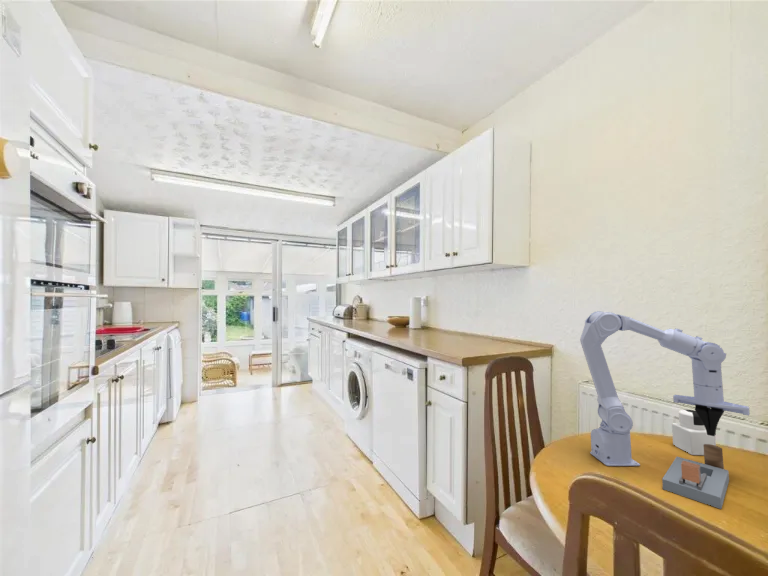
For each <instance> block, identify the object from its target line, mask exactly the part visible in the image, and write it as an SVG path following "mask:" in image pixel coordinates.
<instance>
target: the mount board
mask: <svg viewBox="0 0 768 576" xmlns="http://www.w3.org/2000/svg"><path fill="white" fill-rule="evenodd" d="M682 461H687V462H690V463H694V464H697V465H700V473H701V481H700V483H699V484H698V485H697V487H694V486H691V485H688V484H685V479H682V470H681V463H682ZM661 480H662V490H664V491H666V490H667V492H669V491H670V493H672V492H673V494H675V495H679V496H682V497H685V498H687V499H689V500H694V501H697V502H699V503H702V504H705V505H707V504H708V505H709V506H710V505H711V507H713V508H717V509H720V510H722V508H723V504H724V502H725V501H724V500H725V498H726V494H727V489H728V487H729V482H730V474H729V470H728V469H725V468H724V469H721V468H717V467H714V466H710V465H706V464H705V463H703V462H698V461H694V460H692V459H687V458H684V457H681V456H675V458H674V460H673V461H672V463H671V465H670V466H669V468H668V469H667V471H666V473H665V474H664V476H663V477H662V479H661Z"/></svg>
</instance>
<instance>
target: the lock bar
mask: <svg viewBox="0 0 768 576" xmlns="http://www.w3.org/2000/svg"><path fill="white" fill-rule="evenodd" d="M681 470H682V479H685V484H688V485H691V486H694V487H697V485H698V484H699V483H700V481H701V473H700V465H697V464H694V463H690V462H687V461H682V463H681Z"/></svg>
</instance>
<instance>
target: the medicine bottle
mask: <svg viewBox="0 0 768 576" xmlns="http://www.w3.org/2000/svg"><path fill="white" fill-rule="evenodd" d="M671 433H672V445H673V446H674V445H675V446H674V447H676V448H678V449H680V450H682V451H684V452H685V451H686V453H687V452H688V455H692V456H704V446H703V445H704V444H710V445H715V446H717V442H716V435H715V436H710V435H707V432H706V429H705V426H704V424H703V422H702V420H701V418H700V417H699V415H698V414H697V412H696V411H695V409H694V410H693V409H680V410H678V422H672V423H671Z"/></svg>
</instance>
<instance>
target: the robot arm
mask: <svg viewBox="0 0 768 576" xmlns="http://www.w3.org/2000/svg"><path fill="white" fill-rule="evenodd" d="M619 331H621V332H623V331H632V332H633V333H637V334H640V335H642V336H645V337H648V338H651V339H654V340H657V341H658V343H659V344H660V346H661V347H663V348H665V349H667V350H670V351H673V352H676V353H678V354H681V355H683V356H687V357H688V358H690V359H691V371H692V385H693V396H691V395H690V396H689V395H680V394H674V395H673V396H672V397H673V399H672V400H673V403H676V404H684V405H690V406H694V407H695V408H694V411H696V412H697V414H698V415H699V417H700V418H701V420H702V422H703V424H704V426H705V429H706V432H707V435H710V436H715V437H716V434H717V433H716V432H717V427H718V424H719V422H720V421H721V417H723V414H724V413H725V412H730V413H736V414H741V415H744V416H747V417H748V416H750V414H751V413H750V411H751V410H750V406H748V405H743V404H742V405H741V404H739V403H738V404H737V403H733V402H729V401H725V400H724V388H723V385H724V384H723V374H722V363H723V362H724V361H725V359H726V358H727V353H726V352H724V349H723V348H722V347H721V346H720V345H719V344H717V343H715V342H709V341H704V340H703V338H702V337H700V336H692V335H690V334H687V333H685V332H683V330H682V329H680V328H674V329H673V328H666V329H660V328H658V327H656V326H653V325H650V324H648V323H645V322H643V321H641V320H637V319H635V318H633V317H630V316H626V315H622V314H617V313H614V312H613V311H611V312H610V311H600V310H597V311H594V312H592V313H590V315H589V316H587V317H586V319H585V320H584V326H583V329H582V333H581V336H580V339H579V340H580V345H581V348H582V351H583V354H584V357H585V360H586V363H587V366H588V370H589V373H590V376H591V378H592V382H593V384H594V389H595V391H596V395H597V399H596V400H597V405H598V407H597V415H598V417H599V418H600V419H601V422H600V424H599V425H600V426H599V427H598V428H593V429H591V431H590V448H591V450H590V451H589V453H590V454H591V455H592V456H593V457H595V458H596V459H597V460H598V461H599V462H601V463H603V464H604V465H605V466H607V467H629V466H630V467H640V466H641V464H640V463H639V462H638V461H637V460H634V459H633V458H632V441H631V439H632V438H631V430H632V428H633V426H634V425H633V423H634V422H633V419H632V417H631V416H630V415H629V414H628V413H627V412H626V410H625V408H624V405H623V403H622V402H621V400H620V397H619V396H618V395H619V394H618V393H617V390H616V387H615V384H614V381H613V378H612V375H611V372H610V369H609V366H608V363H607V359H606V357H605V353H604V350H603V348H602V344H603V343H604V342H605V340H607V338H609V337H610V336H612V335H613V334H615V333H617V332H619Z"/></svg>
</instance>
